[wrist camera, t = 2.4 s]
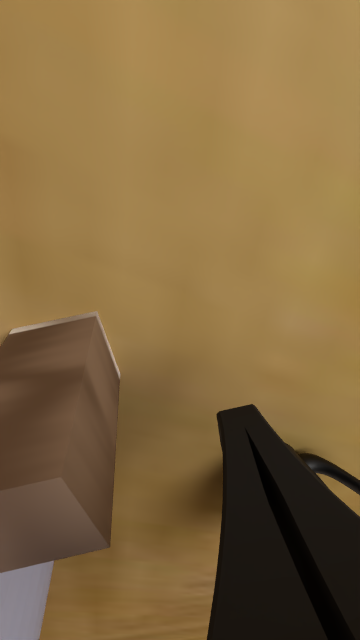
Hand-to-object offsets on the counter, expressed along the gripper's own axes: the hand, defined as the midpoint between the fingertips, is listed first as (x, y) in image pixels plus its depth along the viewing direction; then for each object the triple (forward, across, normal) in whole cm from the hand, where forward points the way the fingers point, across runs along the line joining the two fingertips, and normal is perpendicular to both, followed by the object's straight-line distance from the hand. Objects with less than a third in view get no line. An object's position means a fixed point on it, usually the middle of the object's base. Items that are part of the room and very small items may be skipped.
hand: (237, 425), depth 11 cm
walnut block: (+7, +8, 0) cm, 10 cm away
